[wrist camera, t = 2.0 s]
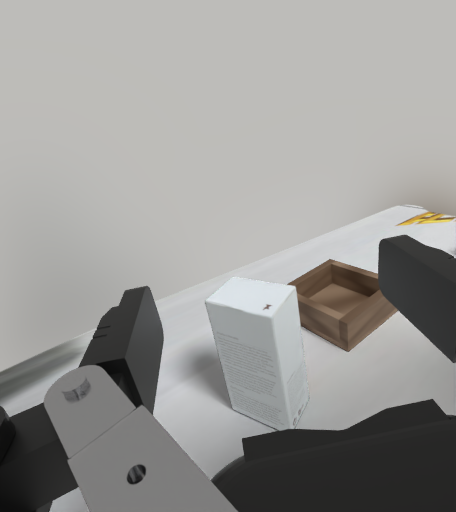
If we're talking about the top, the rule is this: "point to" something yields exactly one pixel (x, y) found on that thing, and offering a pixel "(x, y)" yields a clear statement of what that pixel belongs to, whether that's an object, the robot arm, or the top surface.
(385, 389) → the top surface
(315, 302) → the open wooden box
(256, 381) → the skincare box
